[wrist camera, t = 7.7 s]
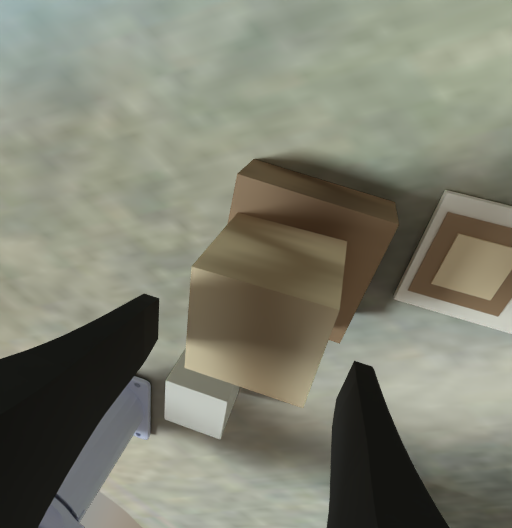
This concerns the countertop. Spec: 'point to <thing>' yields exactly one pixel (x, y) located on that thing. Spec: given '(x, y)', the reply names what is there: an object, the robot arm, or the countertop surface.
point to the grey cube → (198, 400)
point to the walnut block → (322, 222)
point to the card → (464, 262)
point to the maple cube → (264, 306)
